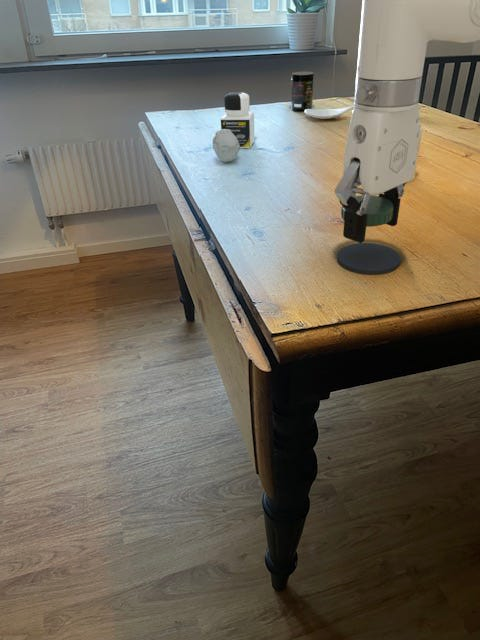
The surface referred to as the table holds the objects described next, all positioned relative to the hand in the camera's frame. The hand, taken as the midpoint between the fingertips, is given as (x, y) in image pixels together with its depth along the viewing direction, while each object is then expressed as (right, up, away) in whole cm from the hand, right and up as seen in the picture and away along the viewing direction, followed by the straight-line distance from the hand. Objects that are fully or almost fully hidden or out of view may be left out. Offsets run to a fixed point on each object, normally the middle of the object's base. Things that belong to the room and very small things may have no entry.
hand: (370, 230), depth 70 cm
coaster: (0, -4, +3) cm, 5 cm away
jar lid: (-1, +3, -1) cm, 3 cm away
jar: (+14, +16, +31) cm, 38 cm away
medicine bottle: (-18, +32, +57) cm, 68 cm away
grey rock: (-21, +24, +46) cm, 56 cm away
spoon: (+17, +46, +76) cm, 91 cm away
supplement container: (+1, +54, +88) cm, 103 cm away
